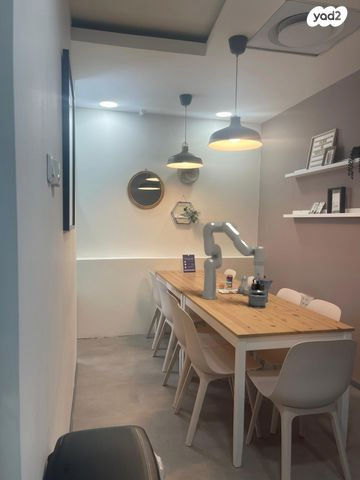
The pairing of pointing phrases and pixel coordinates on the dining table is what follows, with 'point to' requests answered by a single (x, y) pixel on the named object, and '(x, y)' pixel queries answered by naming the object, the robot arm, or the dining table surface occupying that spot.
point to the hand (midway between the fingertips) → (257, 288)
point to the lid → (252, 289)
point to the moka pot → (265, 285)
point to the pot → (257, 300)
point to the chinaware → (244, 286)
